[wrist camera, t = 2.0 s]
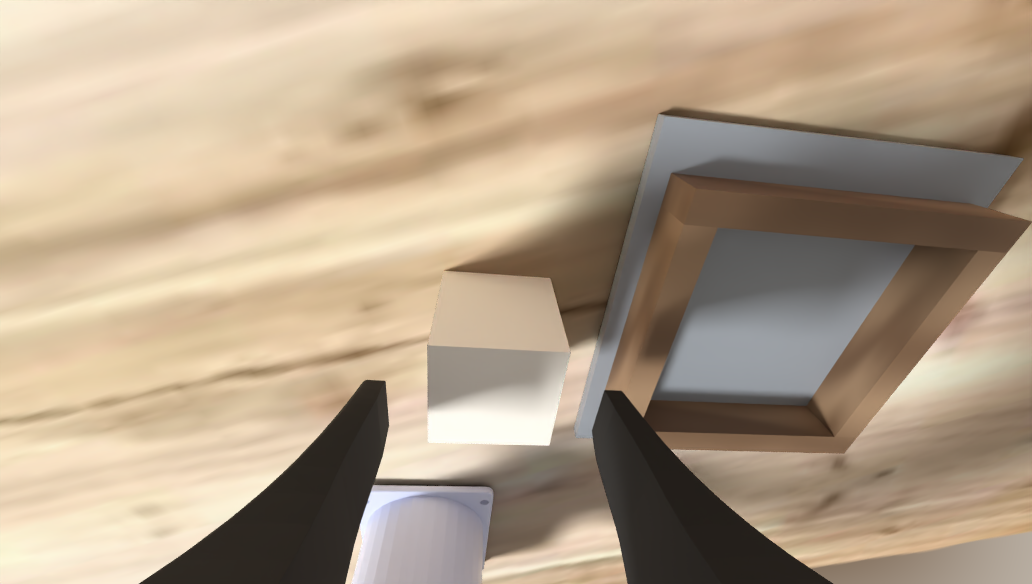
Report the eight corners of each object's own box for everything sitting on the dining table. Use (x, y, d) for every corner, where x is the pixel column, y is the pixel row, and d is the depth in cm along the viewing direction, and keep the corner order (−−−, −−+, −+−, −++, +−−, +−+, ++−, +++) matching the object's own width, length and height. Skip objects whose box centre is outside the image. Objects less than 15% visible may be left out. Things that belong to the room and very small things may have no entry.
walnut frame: (815, 422, 22) (843, 453, 20) (597, 414, 20) (607, 447, 19) (971, 203, 15) (1032, 221, 14) (671, 172, 14) (696, 188, 12)
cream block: (535, 358, 19) (549, 445, 15) (442, 354, 19) (428, 442, 14) (550, 277, 17) (570, 352, 13) (443, 269, 16) (427, 345, 12)
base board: (805, 435, 23) (813, 444, 23) (573, 428, 22) (575, 437, 21) (1005, 155, 15) (1023, 158, 15) (657, 114, 14) (665, 115, 13)
